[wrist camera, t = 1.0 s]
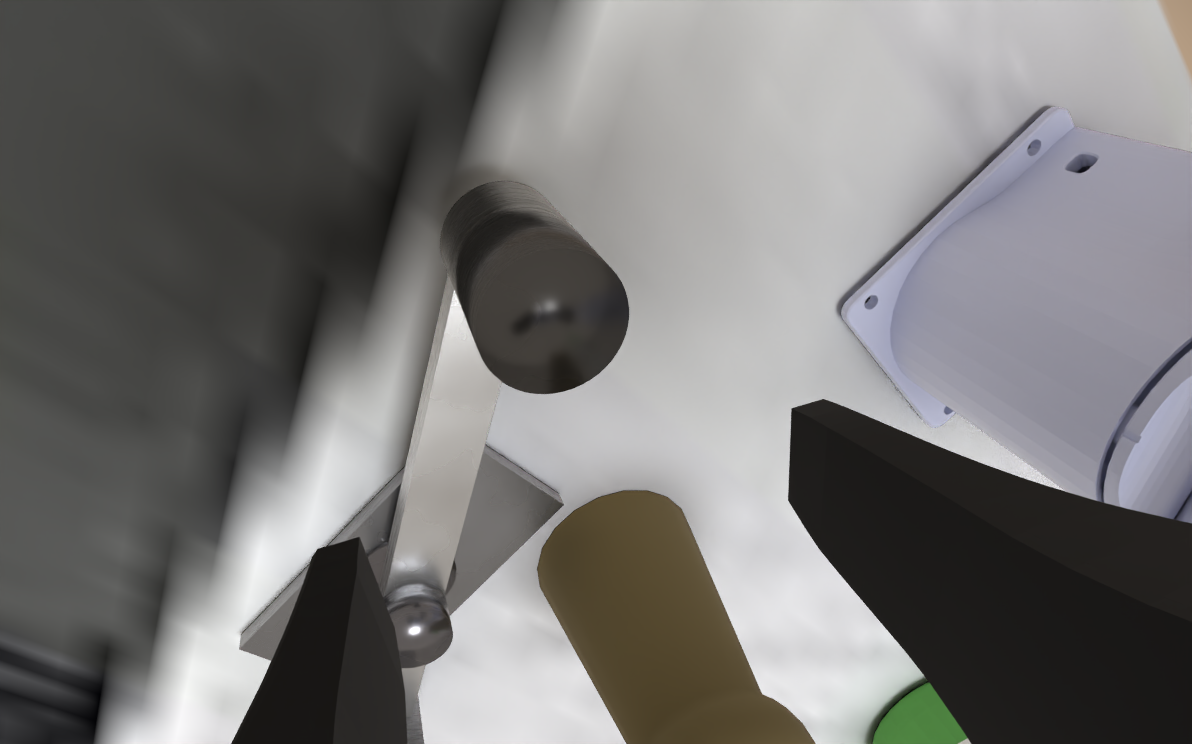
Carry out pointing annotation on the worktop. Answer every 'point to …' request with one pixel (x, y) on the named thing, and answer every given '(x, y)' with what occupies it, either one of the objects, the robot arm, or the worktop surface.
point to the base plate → (488, 539)
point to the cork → (655, 627)
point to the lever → (487, 385)
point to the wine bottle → (920, 721)
